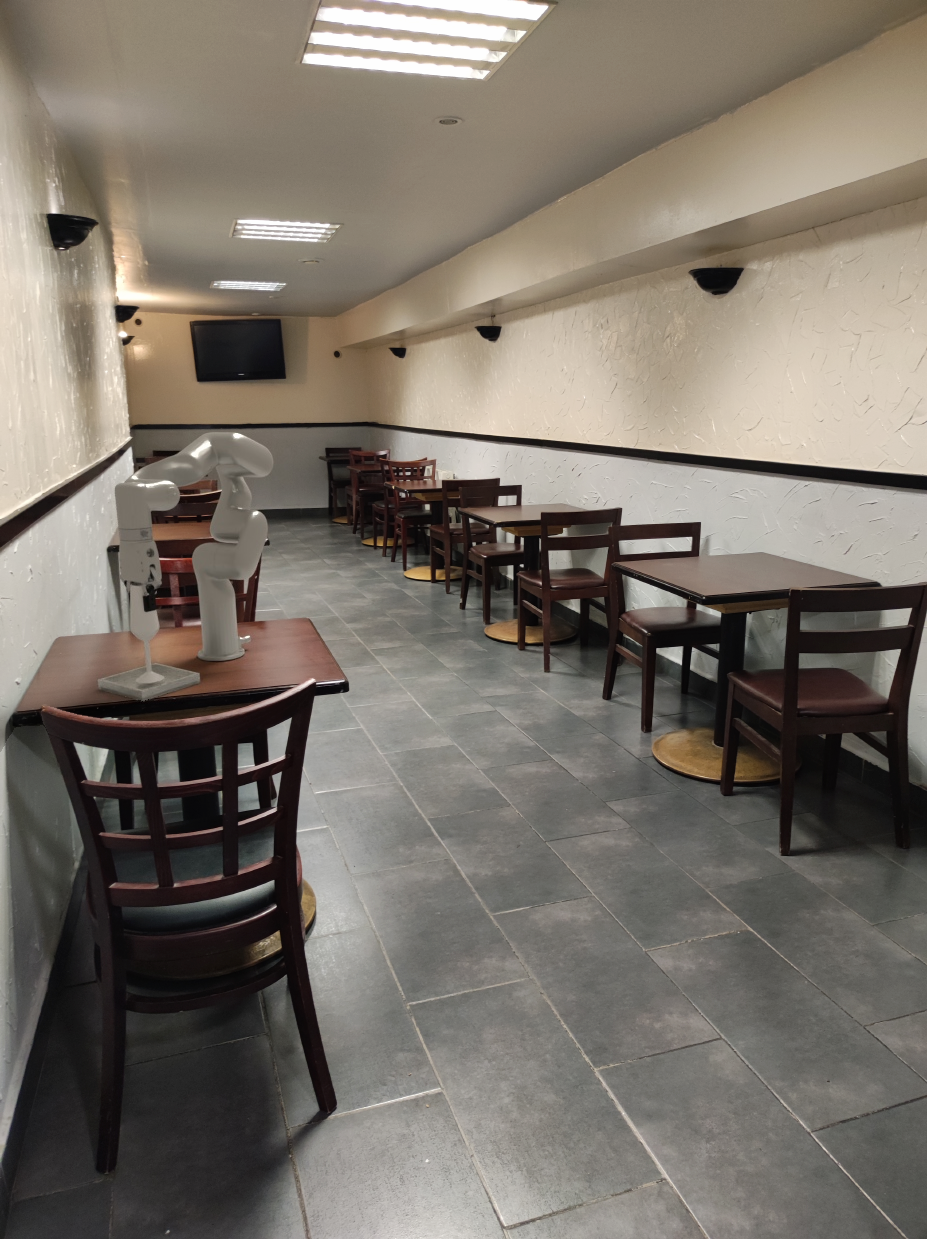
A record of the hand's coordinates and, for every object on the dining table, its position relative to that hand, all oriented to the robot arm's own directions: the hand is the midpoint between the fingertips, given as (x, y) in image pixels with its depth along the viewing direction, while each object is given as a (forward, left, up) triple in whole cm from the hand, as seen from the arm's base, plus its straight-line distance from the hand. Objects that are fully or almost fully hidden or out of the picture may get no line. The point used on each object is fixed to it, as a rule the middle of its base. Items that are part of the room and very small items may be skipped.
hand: (143, 608), depth 206 cm
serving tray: (0, 0, -20) cm, 20 cm away
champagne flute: (0, 0, -18) cm, 18 cm away
